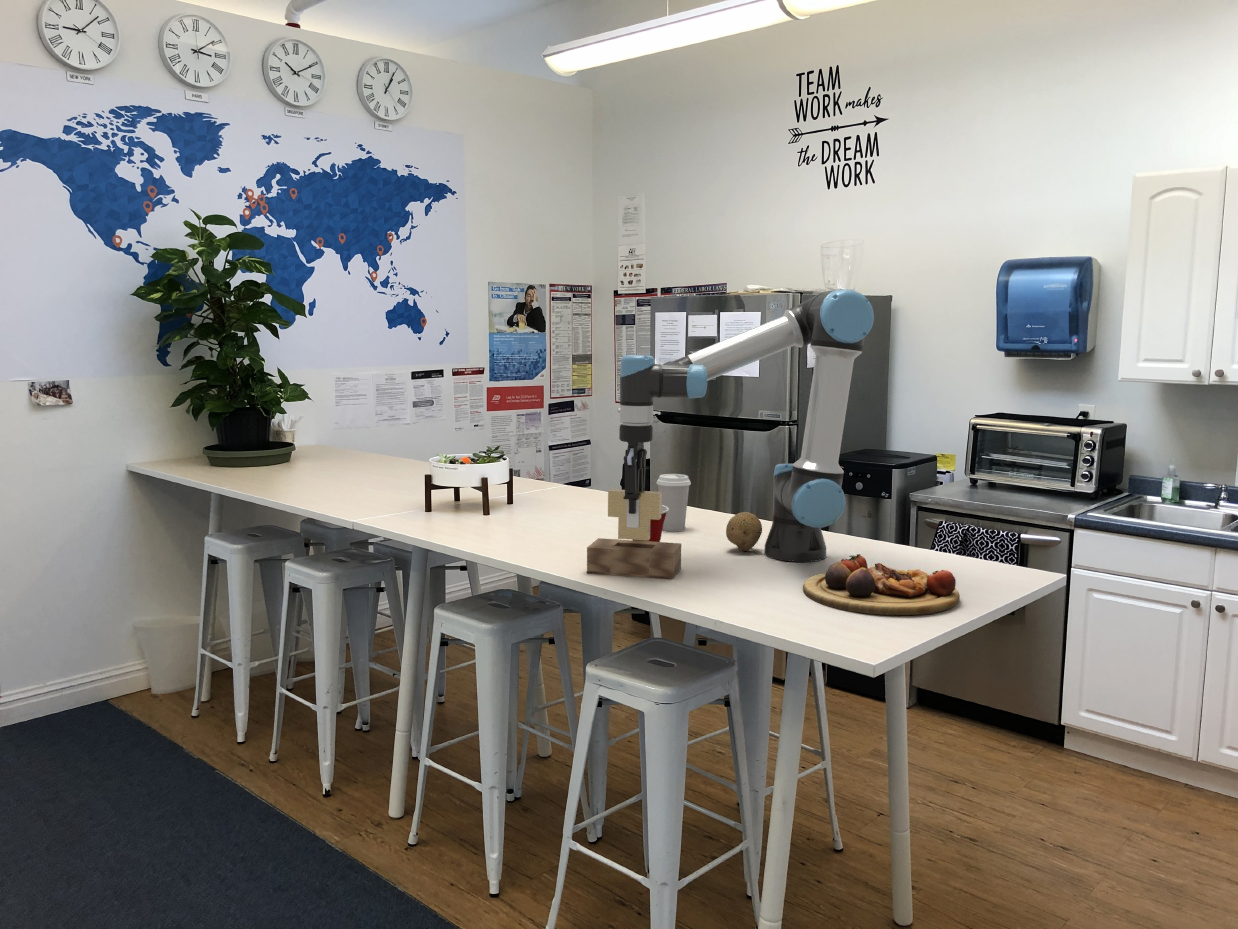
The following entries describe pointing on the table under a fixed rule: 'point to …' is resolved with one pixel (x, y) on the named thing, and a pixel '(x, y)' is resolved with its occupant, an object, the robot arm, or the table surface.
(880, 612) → the wooden plate with food
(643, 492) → the light wooden block
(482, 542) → the table surface
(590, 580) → the table surface
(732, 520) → the natural sponge
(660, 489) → the coffee cup
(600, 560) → the slotted block
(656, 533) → the plastic cup
